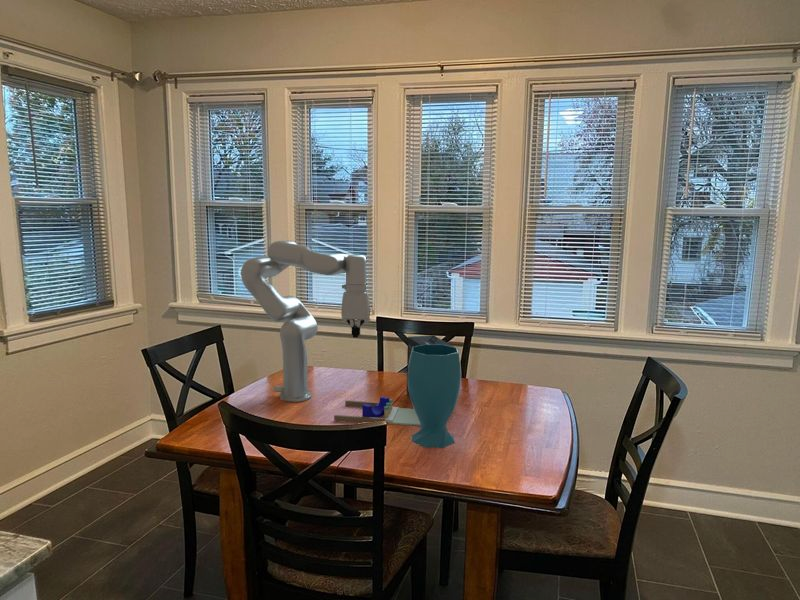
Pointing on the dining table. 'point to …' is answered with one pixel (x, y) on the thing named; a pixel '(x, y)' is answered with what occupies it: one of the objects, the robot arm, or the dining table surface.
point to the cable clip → (375, 408)
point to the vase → (434, 391)
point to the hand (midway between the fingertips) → (355, 336)
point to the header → (390, 414)
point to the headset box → (421, 341)
